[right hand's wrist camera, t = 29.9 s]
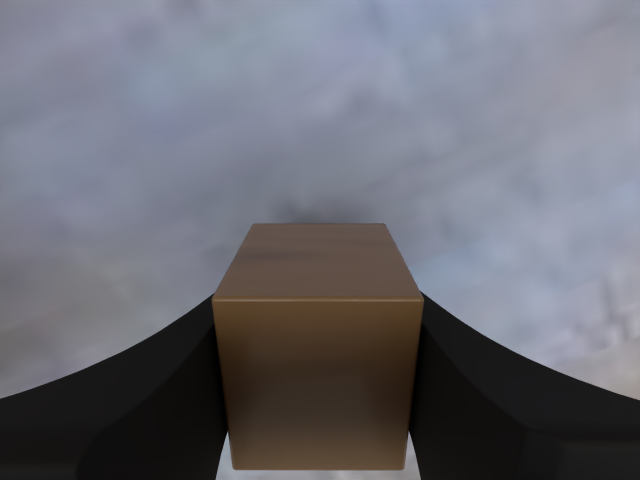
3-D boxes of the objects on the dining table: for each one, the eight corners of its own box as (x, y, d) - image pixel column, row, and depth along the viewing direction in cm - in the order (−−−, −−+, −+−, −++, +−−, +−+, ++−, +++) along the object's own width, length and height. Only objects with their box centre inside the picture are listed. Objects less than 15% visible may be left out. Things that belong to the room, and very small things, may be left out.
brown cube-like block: (377, 348, 13) (405, 472, 9) (261, 348, 13) (231, 471, 9) (385, 222, 11) (425, 298, 7) (252, 222, 12) (209, 298, 7)
